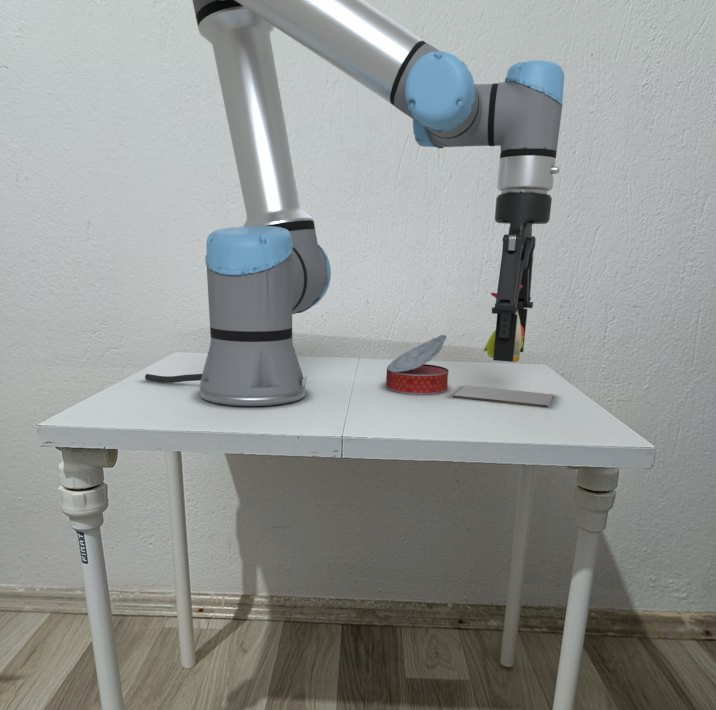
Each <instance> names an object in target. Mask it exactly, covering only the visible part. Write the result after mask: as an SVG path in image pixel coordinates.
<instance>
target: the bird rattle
mask: <svg viewBox="0 0 716 710" xmlns="http://www.w3.org/2000/svg"><path fill="white" fill-rule="evenodd" d="M521 288H522V284H521V285H520V289H521ZM490 295H491V296H492V297H494V298H495V299H496V297H497V292H491V293H490ZM516 314H517V325H516V335H515V345H514V355H513V361H512V362H511V363H517V362H519V360H520V358H521V352H520V350H521V348H522V346H523V338H524V329H523V327H522V325H521V324H520V318H519V314H518V309H517V312H516ZM495 334H496V329H495V330H494V331H493V332H492V333H491V335H490V337H489V339H488V340H487V343H486V344H485V346H484V348H483V351H484V352H487V356H488V357H489V358H492V359H493V356H494V345H495Z"/></svg>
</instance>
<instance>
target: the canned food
mask: <svg viewBox="0 0 716 710" xmlns="http://www.w3.org/2000/svg"><path fill="white" fill-rule="evenodd" d="M446 340H447V335H446V334H440V335H439V336H437V337H434V338H432V339H430V340H428V341H425V342H423V343H421V344H419V345H417V346H416V347H414V348H411V349H410V350H407V351H406V352H404V353H401V354H400V355H399V356H398V357H396V358H395V359H393V360H392V361H391V362H390V363H389V364H387V367H386V379H385V387H386V389H388V390H389V391H392V392H396V393H401V394H408V395H436V394H440V393H441V394H442V393H445V392H446V391H448V383H449V382H448V381H449V372H450V371H449V369H448V368H447V367H444V366H440V365H435V364H428V362H431V361H432V360H433V359H434V358H436V357H437V355H438V354H439V353H440V351H441V350H442V348H443V346H444V343H445V341H446Z"/></svg>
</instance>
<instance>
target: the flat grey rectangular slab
mask: <svg viewBox="0 0 716 710" xmlns="http://www.w3.org/2000/svg"><path fill="white" fill-rule="evenodd" d="M452 397H453V398H456V399H466V400H477V401H485V402H495V403H503V404H504V403H505V404H512V405H513V404H514V405H522V406H523V405H524V406H533V407H541V408H542V407H543V408H549V406H550V404H551V402H552V400H553V399H554V397H555V394H553V393H552V394H551V393H543V392H534V391H533V392H532V391H522V390H512V389H511V390H510V389H503V388H492V387H482V386H481V387H480V386H472V385H464V386H463V387H462V388H461V389H459V390H458V391H457V392H456V393H454V394H452Z"/></svg>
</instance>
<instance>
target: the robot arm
mask: <svg viewBox="0 0 716 710" xmlns="http://www.w3.org/2000/svg"><path fill="white" fill-rule="evenodd" d="M192 5H193V9H194V15H195V19H196V24H197V28H198V32H199V35H200V36H201V37H202V38H204V39H205V40H206V41H208V42H209V43H210V44H211V45H212V50H213V55H214V60H215V65H216V70H217V75H218V81H219V85H220V90H221V95H222V99H223V105H224V109H225V115H226V119H227V124H228V129H229V134H230V139H231V144H232V149H233V154H234V159H235V164H236V169H237V175H238V179H239V184H240V189H241V194H242V198H243V199H242V200H243V205H244V209H245V214H246V220H245V222H244V224H243V225H242V226H237V227H235V226H231V227H223V228H219V229H216V230H213V231H211V232H210V233H209V235H207V239H206V254H205V257H204V258H205V259H204V260H205V261H204V262H205V266H206V279H207V280H206V281H207V298H208V313H209V332H210V333H209V334H210V343H209V347H208V348H209V349H208V351H207V356H206V358H205V359H206V360H205V363H204V366H203V370H202V373H195V374H194V373H192V374H180V375H167V376H166V375H165V376H164V375H157V374H150V373H146V374H145V375H144V379H145V381H150V382H156V383H165V384H172V383H181V382H194V381H196V382H197V381H200V385H199V392H200V393H199V394H200V397H201V399H203V400H205V401H207V402H210V403H212V404H213V403H214V404H218V405H225V406H233V407H267V406H269V407H270V406H278V405H285V404H290V403H293V402H297V401H299V400H301V399H303V398H304V397H305V396H306V384H307V383H308V382H307V381H308V379H307V378H308V377H307V376H308V375H303V372H302V369H301V366H300V362H299V359H298V356H297V353H296V351H295V347H294V341H293V315H296V314H301V313H304V312H306V311H307V310H309V309H311V308H313V307H315V306H316V305H317V304H318V303H319V302H320V301H321V300H322V299H323V298H324V296H325V295H326V294H327V291H328V289H329V287H330V283H331V278H332V277H331V276H332V270H331V263H330V259H329V258H328V255H327V253H326V252H325V250H324V249H323V248H322V246H321V245H320V244H319V242H318V237H317V231H316V225H315V221H314V218H313V217H312V216H311V215H309V214H308V213H307V212H305V210H303V208H302V203H301V202H302V201H301V199H300V198H301V197H300V191H299V186H298V181H297V180H298V179H297V173H296V168H295V162H294V158H293V152H292V146H291V140H290V136H289V129H288V124H287V118H286V112H285V106H284V102H283V96H282V90H281V85H280V79H279V74H278V67H277V61H276V57H275V56H276V55H275V50H274V45H273V40H272V34H273V32H274V31H275V29H277V30H278V31H280V32H282V33H283V34H285V35H286V36H288V37H290V38H291V39H292V40H294V41H295V42H296V43H298V44H300V45H301V46H303V47H305V49H307V50H309V51H310V52H312V53H313V54H315V55H317V56H318V57H319V58H321V59H323V60H324V61H326V62H327V63H329V64H330V65H331V66H333V67H335V68H336V69H338V70H339V71H341V72H342V73H344V74H345V75H347V76H349V77H350V78H351V79H353V80H355V81H356V82H357V83H359V84H360V85H362V86H363V87H365V88H366V89H368V90H369V91H371V92H372V93H374V94H376V95H377V96H379V97H380V98H381V99H383V100H384V101H386V102H388V103H389V104H391V105H392V106H393V107H395V108H396V109H397V110H398V111H400V112H401V113H403V114H404V115H406V116H408V117H409V118H411V119H412V131H413V135H414V140H415V142H416V144H417V145H418V146H420V147H422V148H423V147H424V148H436V149H444V148H459V147H460V148H461V147H463V148H464V147H488V146H489V147H500V154H499V160H498V170H497V171H498V172H497V182H496V189H497V190H498V191H500V194H497V196H496V198H495V212H494V221H495V222H496V223H497V224H505V225H506V224H507V225H509V227H508V233H507V234H503V237H502V250H501V258H500V267H499V275H498V283H497V290H496V293H497V297H496V298H495V303H494V307H493V306H492V307H491V314H493V315H496V322H495V323H496V325H495V330H496V334H495V345H494V356H493V358H492V360H493V361H494V362H495V361H497V362H510V363H513V362H512V361H513V355H514V345H515V335H516V325H517V314H516V312H517V309H518V314H519V318H520V324H521V325H522V327H523V329H524V338H523V346H522V348H521V350H520V353H523V352H524V348H525V347H524V346H525V340H526V339H525V338H526V328H527V319H528V309H533V307H534V301H531V300H532V297H531V291H532V280H533V279H532V278H533V265H534V264H533V263H534V251H535V248H536V242H537V241H536V236H535V235H534V236H533V225H545V224H548V223H549V222H550V218H551V211H552V201H553V198H552V196H551V195H550V194H548V192H551V191H552V190H553V187H554V179H555V177H554V175H557V174H559V173H560V167H559V166H558V165H555V164H556V158H557V152H558V143H559V136H560V126H561V120H562V112H563V99H564V98H563V97H564V86H565V85H564V84H565V82H564V81H565V72H564V70H563V68H562V67H561V65H560V64H558V63H556V62H554V61H550V60H537V59H536V60H527V61H520V62H516V63H513V64H512V65H510V66H509V67H508V69H507V71H506V77H505V78H504V81H502V82H501V81H500V82H498V83H497V82H495V83H475V82H474V78H473V74H472V72H471V71H470V69H469V68H468V65H467V64H466V63H465V62H464V61H462V60H461V59H460V58H459V57H458V56H456V55H454V54H453V53H451V52H448V51H441V50H439V49H437V48H436V47H434V46H433V45H431V44H430V43H427V42H425V40H424V39H422V37H420V36H418V35H416V34H415V33H413V32H412V31H410V30H409V29H407V28H405V27H404V26H403V25H401V23H398V22H397V21H395V20H394V19H393V18H390V17H389V16H388V15H386V14H384V13H383V12H382V11H380V10H379V9H377V8H375V7H374V6H372V5H371V4H369V3H368V2H367V1H365V0H192ZM521 284H522V288H521V289H520V285H521Z"/></svg>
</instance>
